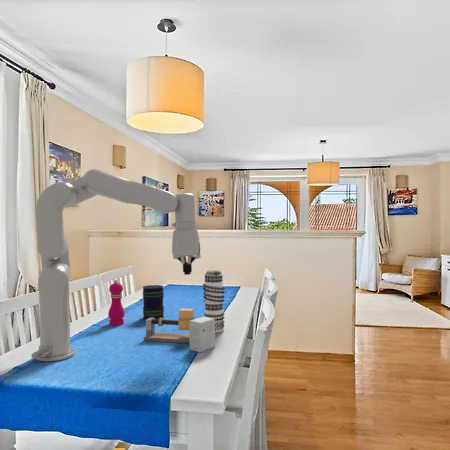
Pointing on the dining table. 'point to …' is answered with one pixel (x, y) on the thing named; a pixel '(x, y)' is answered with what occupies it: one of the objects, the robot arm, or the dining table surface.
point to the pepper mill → (116, 305)
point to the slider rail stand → (164, 337)
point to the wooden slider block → (185, 318)
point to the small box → (202, 334)
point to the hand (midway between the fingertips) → (187, 274)
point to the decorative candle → (214, 298)
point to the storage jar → (153, 301)
